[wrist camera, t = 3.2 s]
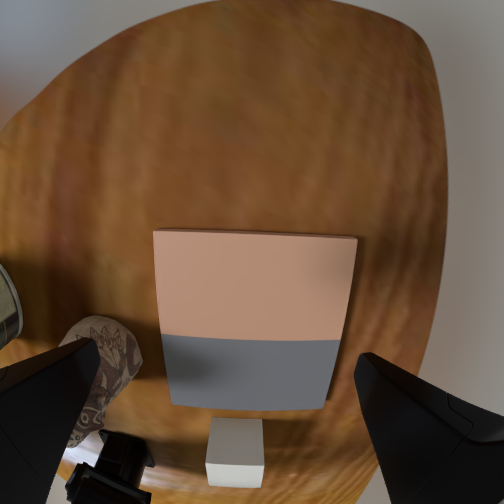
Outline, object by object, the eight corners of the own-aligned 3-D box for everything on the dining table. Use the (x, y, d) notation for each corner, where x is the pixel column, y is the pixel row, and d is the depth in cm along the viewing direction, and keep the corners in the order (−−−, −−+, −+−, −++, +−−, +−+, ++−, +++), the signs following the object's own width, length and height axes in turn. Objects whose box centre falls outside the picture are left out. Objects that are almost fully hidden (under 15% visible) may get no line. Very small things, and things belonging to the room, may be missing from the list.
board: (320, 401, 23) (322, 408, 22) (174, 397, 23) (172, 404, 22) (352, 236, 19) (357, 239, 18) (157, 228, 19) (153, 231, 18)
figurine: (130, 388, 23) (86, 482, 11) (71, 351, 22) (8, 428, 10) (153, 341, 22) (96, 451, 10) (84, 298, 21) (-3, 377, 9)
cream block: (259, 445, 25) (260, 487, 20) (213, 443, 25) (209, 485, 19) (261, 418, 24) (264, 465, 18) (211, 416, 24) (205, 463, 18)
